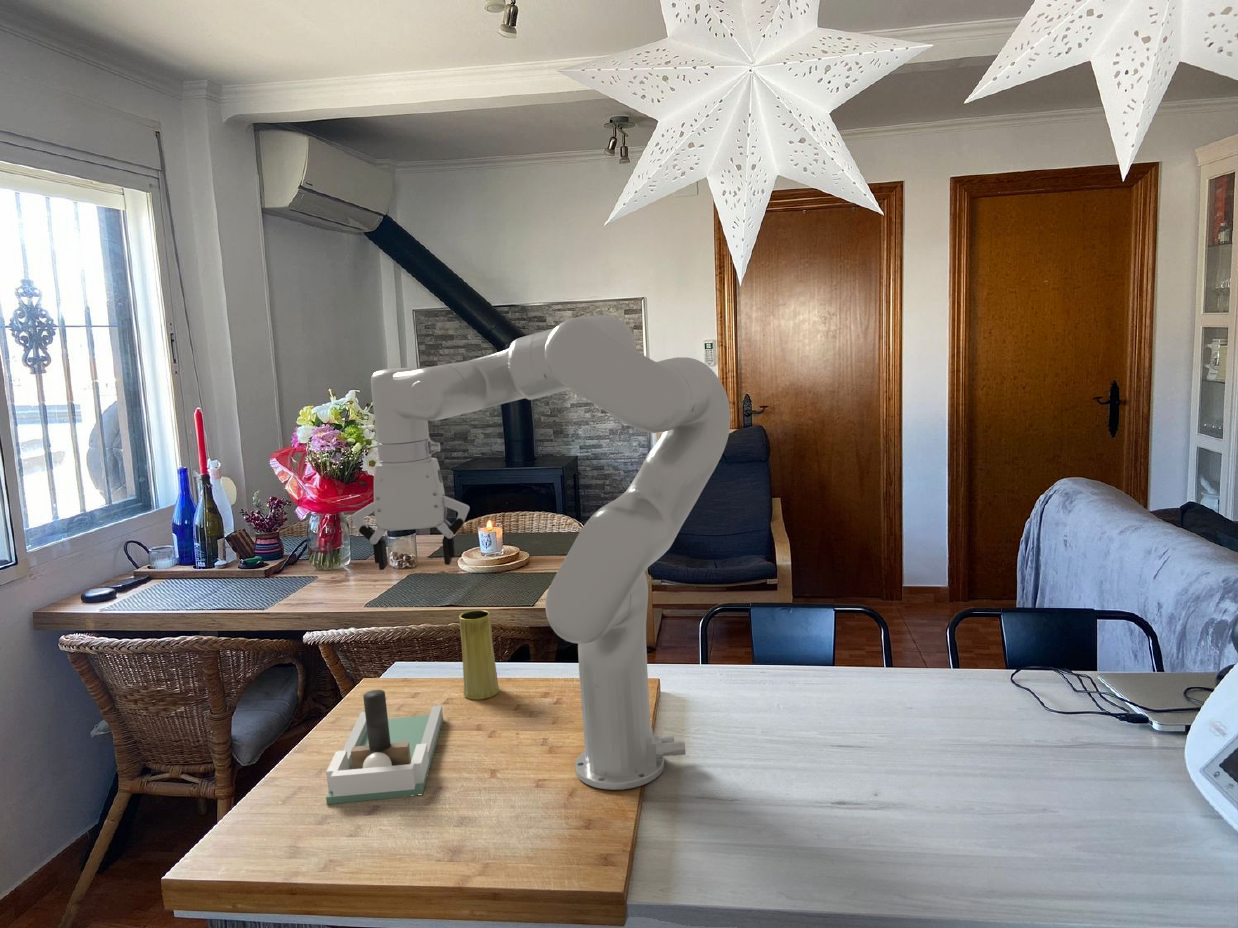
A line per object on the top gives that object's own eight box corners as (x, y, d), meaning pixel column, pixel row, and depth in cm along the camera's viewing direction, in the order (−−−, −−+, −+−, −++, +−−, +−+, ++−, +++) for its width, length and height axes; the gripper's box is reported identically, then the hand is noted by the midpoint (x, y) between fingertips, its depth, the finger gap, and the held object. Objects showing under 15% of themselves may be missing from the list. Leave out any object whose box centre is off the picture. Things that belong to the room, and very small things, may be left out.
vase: (506, 691, 162) (499, 612, 159) (478, 703, 157) (471, 622, 155) (484, 683, 166) (477, 606, 163) (456, 694, 161) (449, 616, 159)
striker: (411, 759, 136) (404, 687, 134) (408, 769, 133) (400, 695, 131) (356, 764, 135) (347, 692, 133) (352, 774, 132) (343, 700, 130)
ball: (392, 786, 131) (395, 761, 134) (387, 770, 128) (390, 745, 131) (364, 788, 131) (367, 763, 134) (358, 773, 128) (361, 747, 131)
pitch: (443, 719, 152) (440, 696, 151) (422, 795, 128) (419, 768, 128) (362, 726, 151) (359, 703, 151) (326, 803, 128) (323, 776, 127)
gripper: (466, 444, 141) (476, 554, 144) (350, 453, 140) (363, 562, 143) (461, 452, 134) (471, 567, 136) (339, 461, 133) (352, 576, 136)
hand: (416, 564), depth 140 cm, fingers open, 9 cm apart
